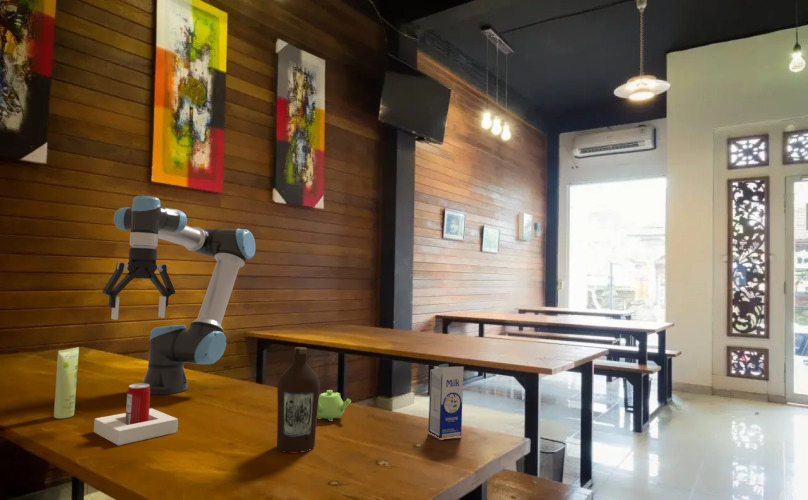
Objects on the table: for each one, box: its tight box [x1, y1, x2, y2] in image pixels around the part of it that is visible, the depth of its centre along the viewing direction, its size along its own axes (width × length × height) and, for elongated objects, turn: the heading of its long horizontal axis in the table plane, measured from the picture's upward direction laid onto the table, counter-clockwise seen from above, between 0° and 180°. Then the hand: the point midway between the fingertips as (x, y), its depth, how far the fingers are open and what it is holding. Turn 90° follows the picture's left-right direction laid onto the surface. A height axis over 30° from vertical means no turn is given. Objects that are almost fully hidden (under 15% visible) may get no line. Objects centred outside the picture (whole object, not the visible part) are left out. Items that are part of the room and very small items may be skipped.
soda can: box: [125, 383, 151, 425], centre depth 135 cm, size 6×6×12 cm
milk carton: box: [427, 363, 465, 438], centre depth 142 cm, size 7×7×20 cm
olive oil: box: [276, 346, 321, 453], centre depth 128 cm, size 11×11×25 cm
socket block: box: [93, 407, 179, 446], centre depth 135 cm, size 15×15×4 cm
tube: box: [53, 346, 80, 419], centre depth 146 cm, size 6×5×20 cm
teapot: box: [317, 389, 352, 421], centre depth 155 cm, size 11×12×8 cm
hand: (138, 318), depth 151 cm, fingers open, 13 cm apart
